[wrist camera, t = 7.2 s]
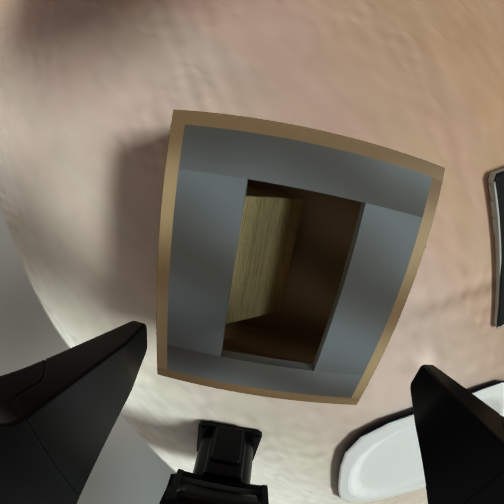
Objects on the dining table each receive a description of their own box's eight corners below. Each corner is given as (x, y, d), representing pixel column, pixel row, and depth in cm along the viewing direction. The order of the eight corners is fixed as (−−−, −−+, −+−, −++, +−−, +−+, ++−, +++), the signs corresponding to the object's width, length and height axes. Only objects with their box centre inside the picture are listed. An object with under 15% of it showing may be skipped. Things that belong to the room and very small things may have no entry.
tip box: (339, 340, 22) (356, 404, 16) (186, 314, 22) (156, 373, 16) (391, 159, 17) (445, 167, 11) (207, 122, 18) (171, 109, 11)
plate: (524, 359, 23) (530, 367, 21) (469, 461, 31) (472, 468, 29) (339, 419, 26) (341, 432, 24) (335, 501, 34) (335, 509, 32)
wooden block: (279, 311, 18) (207, 327, 15) (252, 289, 21) (184, 300, 18) (303, 199, 16) (222, 195, 13) (270, 187, 18) (195, 183, 15)
